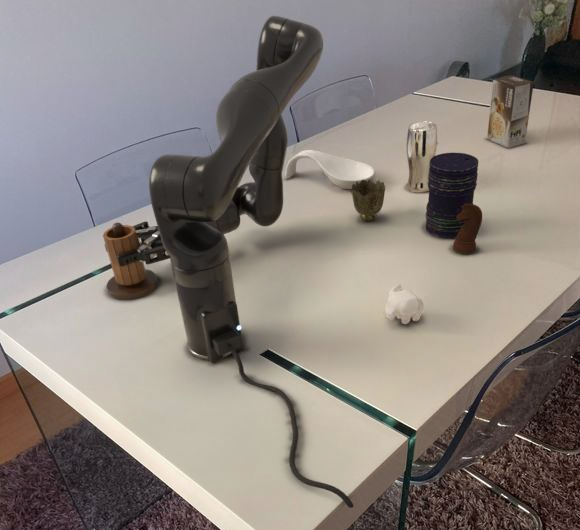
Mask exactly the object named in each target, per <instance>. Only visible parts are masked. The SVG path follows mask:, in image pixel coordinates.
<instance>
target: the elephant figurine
mask: <svg viewBox="0 0 580 530" xmlns="http://www.w3.org/2000/svg"><path fill="white" fill-rule="evenodd" d="M387 298H388V299H387V301H386V305H385V308H384V311H383V313H384V314H385V317H386V319H387V320H388V321H393V320H395V318H397V319H398V320H401V323H402V325H407V324H409V323H410V321H411V320H412V321H413V322H417V321H419V320H420V318H421V316H422V314H423V311H424V307H425V304H424V299H425V298H427V295H424V297H421V298H420V296H418V295H417V294H416V293H415V292H414V291H413V290H411V289H403V285H402V284H396V285H395V286H394V287H392V288H391V289H390V290H389V293H388V295H387Z"/></svg>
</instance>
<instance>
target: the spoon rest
mask: <svg viewBox="0 0 580 530" xmlns="http://www.w3.org/2000/svg"><path fill="white" fill-rule="evenodd" d="M303 158H308V159H311V160H313V161H314V162H315V163H316V164H317V165H318V166H319V168H320V169H321V170H322V172H323V173H324V174H325V176H326V177H327V178H328V179H329V181H330V182H331V183H332V184H334V185H335V186H337V187H338V188H340V189H342V190H352V185H353V184H355V185H356V182H359V183H360V182H361V180H366V181H367V182H368V180H369V179H370V180H372V179H373V177H374V176H375V174H376V171H375V168H373V167H372V166H371V165H369V164H367V163H364V162H362V161H358V160H355V159H354V160H353V159H350V158H346V157H342V156H337V155H335V154H331V153H327V152H323V151H320V150H314V149H307V150H302V151H299V152H298V153H297V154H296V155H294V156H293V157H291V158H290V159H289V160H288V162H287V164H286V167H285V171H284V177H285V178H286V179H290V178H291V177H293V176H294V175H295V174H296V173H297V164H298V163H297V162H298V161H299V160H300V159H303Z"/></svg>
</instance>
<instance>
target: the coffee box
mask: <svg viewBox="0 0 580 530" xmlns="http://www.w3.org/2000/svg"><path fill="white" fill-rule="evenodd" d="M534 83H535V82H534V81H532V80H528V79H525V78H522V77H519V76H515V75H513V74H510V75H504V76H501V77H498V78H494V79H493V81H492V89H491V98H490V108H489V117H488V124H487V125H488V128H487V135H486V139H487V140H488V141H490V142H493V143H496V144H498V145H500V146H503V147H505V148H507V149H510V148H514V147H517V146H521V145H524V144H526V139H527V133H528V125H529V119H530V112H531V105H532V98H533V91H534Z"/></svg>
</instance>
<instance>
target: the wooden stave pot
mask: <svg viewBox="0 0 580 530" xmlns="http://www.w3.org/2000/svg"><path fill="white" fill-rule="evenodd" d="M122 225H123V228H124V232H125V236H124V237H121V238H115V236H114V233H113V229H112V227H110V228H108V229H106V230H105V231H104V232H103V234H102V237H103V241H104V246H105V245H106V248H107V251H106V252H107V255H108V259H109V262H110V265H111V269H112V272H113V276H115V280H116V282H117V283H118V284H121V285H133V284H136V283H139V282H141V281H142V280H144V279H145V278H146V270H145V269H146V267H145V261H143V262H140V261H136V262H134V263H131V264H128V265H125V266H122V267H121V266H120V265H119V264H118V261H117V256H118V255H120V254H123V253H126V252H129V251H132V250H134V249H135V250H136V249H137V248H139V247H140V246H139V242H138V238H137V234H136V230H135V228H134V227H133V226H134V225H128V224H122ZM106 248H105V249H106Z"/></svg>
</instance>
